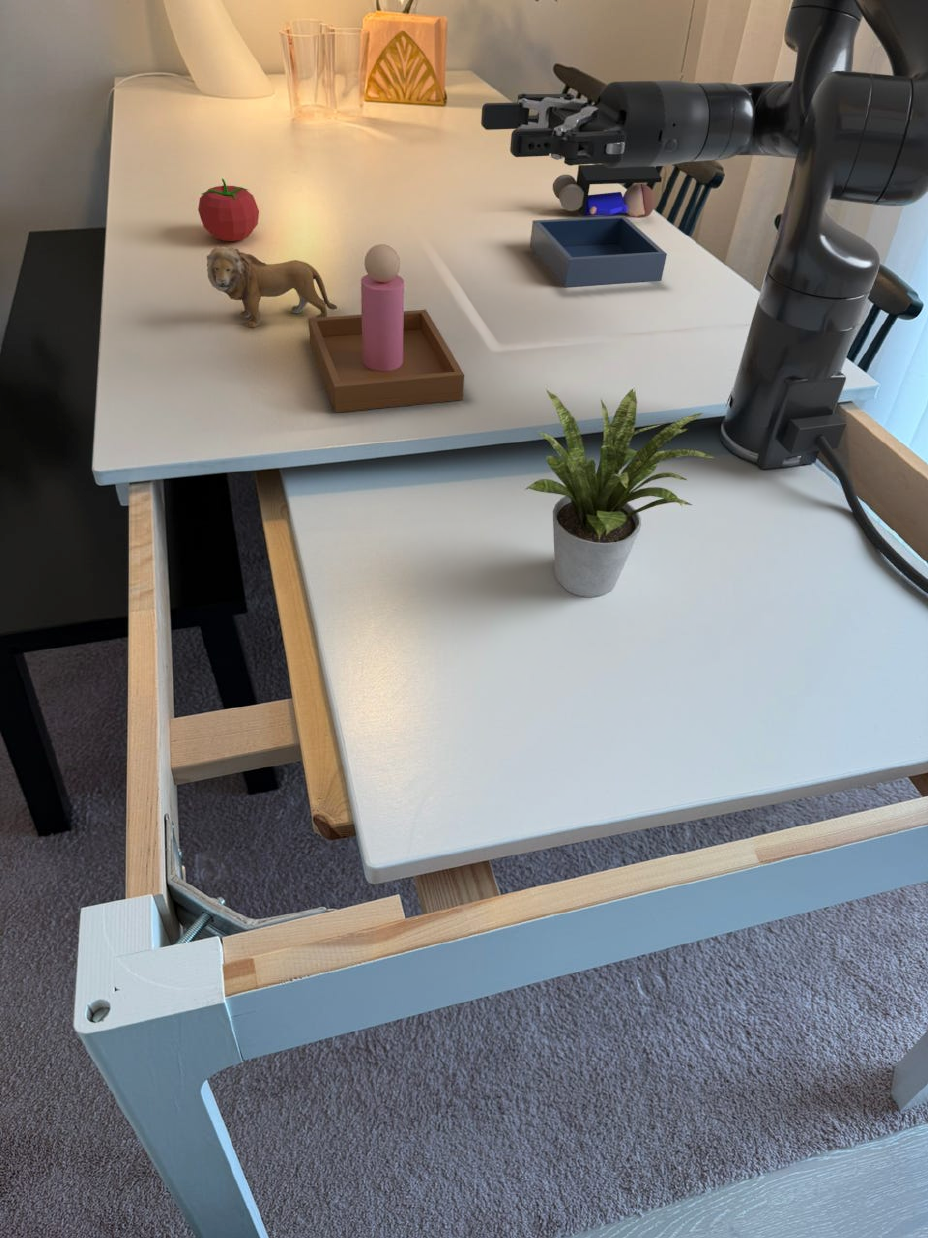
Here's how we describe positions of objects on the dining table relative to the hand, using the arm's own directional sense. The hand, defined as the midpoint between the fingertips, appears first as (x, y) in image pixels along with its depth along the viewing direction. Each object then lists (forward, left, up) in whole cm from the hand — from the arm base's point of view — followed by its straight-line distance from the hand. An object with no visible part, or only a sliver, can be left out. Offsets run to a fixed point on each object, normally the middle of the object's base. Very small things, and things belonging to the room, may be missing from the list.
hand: (496, 129), depth 87 cm
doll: (0, +11, -23) cm, 26 cm away
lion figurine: (+14, +21, -24) cm, 35 cm away
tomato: (+40, +23, -24) cm, 52 cm away
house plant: (-39, +2, -24) cm, 46 cm away
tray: (0, +11, -24) cm, 26 cm away
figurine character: (+40, -32, -24) cm, 57 cm away
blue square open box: (+22, -23, -24) cm, 40 cm away
